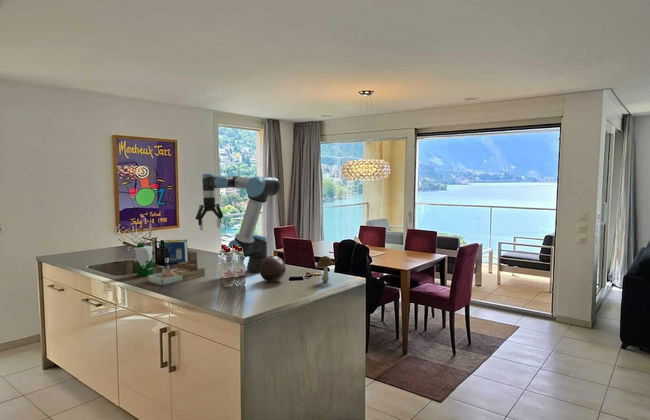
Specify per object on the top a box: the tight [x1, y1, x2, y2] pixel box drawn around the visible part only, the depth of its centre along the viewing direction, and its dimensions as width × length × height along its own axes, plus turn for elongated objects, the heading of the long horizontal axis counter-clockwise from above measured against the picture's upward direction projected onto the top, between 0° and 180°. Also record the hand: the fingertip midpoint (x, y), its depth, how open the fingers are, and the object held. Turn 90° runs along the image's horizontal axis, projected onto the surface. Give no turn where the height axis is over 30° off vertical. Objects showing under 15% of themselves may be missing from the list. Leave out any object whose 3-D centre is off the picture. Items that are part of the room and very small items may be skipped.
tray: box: [147, 271, 184, 287], centre depth 246 cm, size 16×13×4 cm
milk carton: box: [134, 243, 154, 278], centre depth 262 cm, size 9×9×20 cm
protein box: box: [163, 239, 189, 264], centre depth 305 cm, size 10×15×16 cm
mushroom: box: [316, 255, 335, 283], centre depth 238 cm, size 9×11×15 cm
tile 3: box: [161, 267, 168, 276], centre depth 250 cm, size 4×4×2 cm
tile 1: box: [167, 270, 177, 278], centre depth 245 cm, size 4×4×2 cm
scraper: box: [176, 250, 199, 271], centre depth 258 cm, size 16×7×10 cm, turn 50°
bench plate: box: [168, 266, 206, 282], centre depth 257 cm, size 15×16×5 cm
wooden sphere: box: [259, 255, 286, 283], centre depth 240 cm, size 15×15×15 cm
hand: (210, 229), depth 278 cm, fingers open, 13 cm apart
